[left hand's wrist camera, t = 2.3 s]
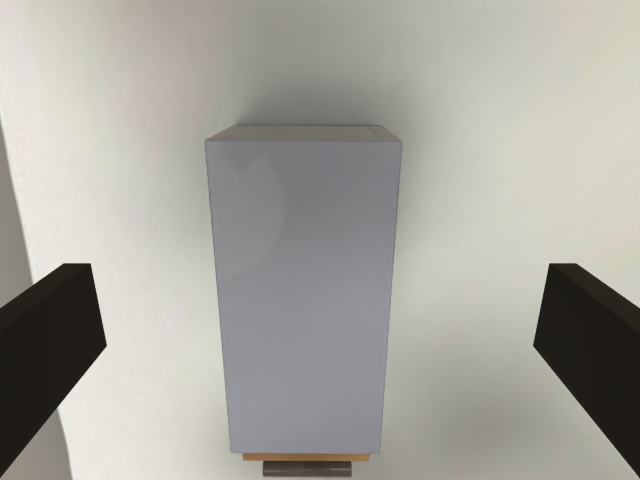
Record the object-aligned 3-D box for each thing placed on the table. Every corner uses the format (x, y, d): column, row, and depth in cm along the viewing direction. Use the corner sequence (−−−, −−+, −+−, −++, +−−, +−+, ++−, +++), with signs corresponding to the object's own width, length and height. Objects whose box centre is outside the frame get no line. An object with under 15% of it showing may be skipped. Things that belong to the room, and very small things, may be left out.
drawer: (358, 446, 40) (365, 512, 34) (257, 446, 40) (246, 511, 34) (372, 171, 31) (385, 194, 25) (242, 170, 31) (223, 192, 25)
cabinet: (367, 376, 39) (379, 454, 31) (249, 375, 39) (230, 453, 31) (381, 125, 31) (402, 141, 23) (234, 124, 31) (204, 139, 23)
